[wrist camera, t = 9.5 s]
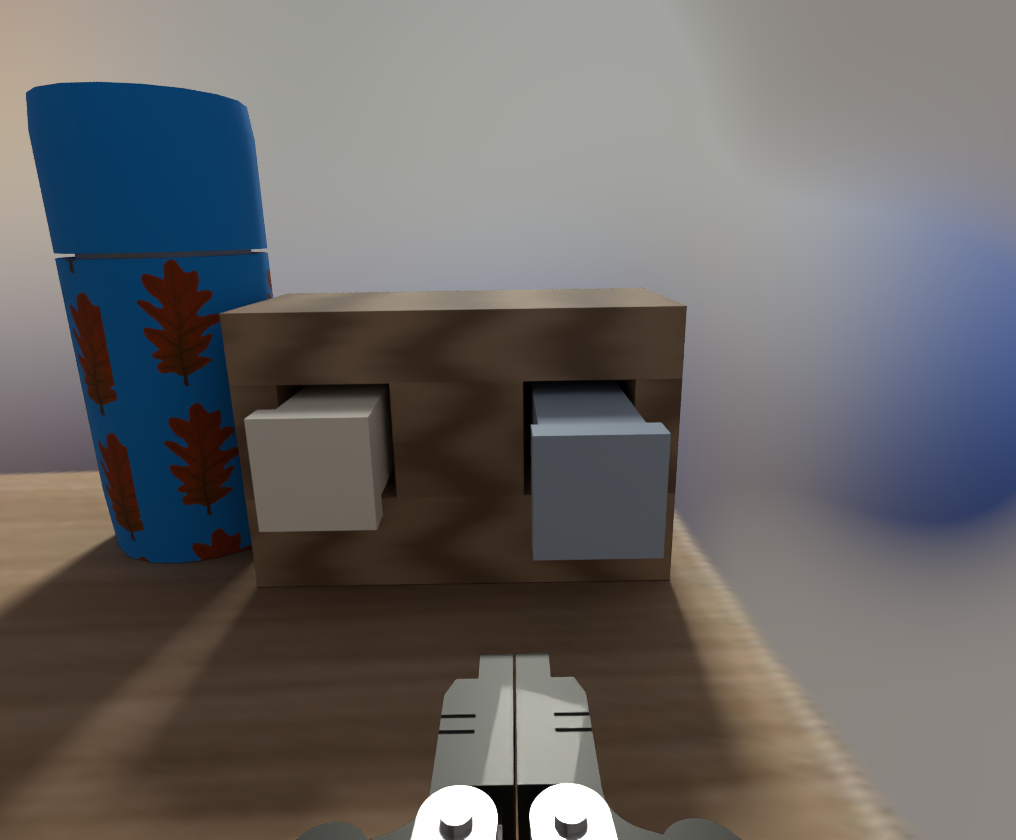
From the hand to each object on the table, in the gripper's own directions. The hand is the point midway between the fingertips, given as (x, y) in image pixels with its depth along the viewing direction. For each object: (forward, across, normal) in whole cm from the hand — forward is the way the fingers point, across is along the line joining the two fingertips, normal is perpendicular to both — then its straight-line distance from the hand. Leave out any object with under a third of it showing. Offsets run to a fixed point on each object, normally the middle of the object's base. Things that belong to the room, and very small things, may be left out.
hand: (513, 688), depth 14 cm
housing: (+24, +3, +8) cm, 25 cm away
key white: (+20, +9, +3) cm, 22 cm away
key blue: (+17, -3, +3) cm, 18 cm away
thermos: (+27, +20, +8) cm, 34 cm away
